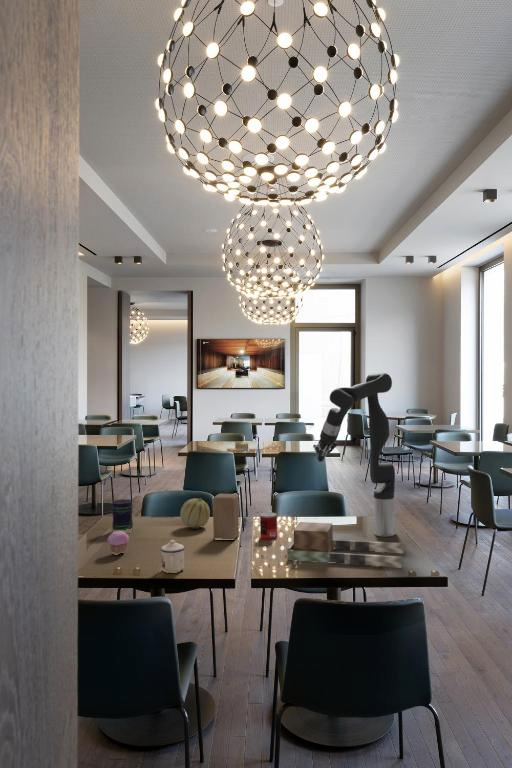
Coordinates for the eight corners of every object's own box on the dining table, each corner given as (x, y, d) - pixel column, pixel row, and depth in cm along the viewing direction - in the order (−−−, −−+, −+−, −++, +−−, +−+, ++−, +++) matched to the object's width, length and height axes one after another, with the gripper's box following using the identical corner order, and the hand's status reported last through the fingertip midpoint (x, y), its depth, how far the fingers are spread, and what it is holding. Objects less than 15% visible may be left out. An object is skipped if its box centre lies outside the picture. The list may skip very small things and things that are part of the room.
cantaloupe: (180, 525, 306) (180, 495, 305) (209, 523, 307) (209, 494, 307) (180, 532, 291) (179, 501, 291) (210, 531, 293) (210, 500, 292)
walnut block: (332, 551, 255) (332, 523, 255) (328, 561, 242) (327, 531, 241) (300, 549, 259) (299, 521, 259) (293, 559, 245) (293, 530, 245)
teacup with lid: (162, 567, 238) (161, 537, 238) (185, 566, 239) (184, 537, 238) (159, 577, 226) (158, 546, 226) (183, 576, 227) (183, 545, 226)
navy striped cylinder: (110, 530, 296) (110, 500, 296) (130, 528, 301) (129, 498, 300) (114, 535, 287) (114, 504, 287) (135, 533, 292) (134, 502, 291)
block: (234, 541, 273) (233, 497, 272) (213, 541, 275) (212, 497, 274) (239, 536, 282) (238, 493, 282) (218, 535, 284) (217, 493, 284)
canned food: (279, 536, 281) (278, 512, 281) (274, 540, 273) (273, 516, 273) (263, 535, 283) (263, 511, 283) (258, 539, 276) (257, 515, 276)
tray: (403, 552, 251) (403, 540, 251) (402, 567, 231) (401, 554, 231) (297, 546, 263) (297, 535, 263) (287, 560, 243) (287, 548, 243)
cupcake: (122, 550, 262) (121, 527, 262) (133, 554, 256) (132, 530, 256) (104, 554, 256) (103, 531, 256) (115, 558, 250) (114, 534, 250)
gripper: (337, 423, 274) (326, 453, 282) (314, 427, 266) (304, 457, 275) (347, 433, 268) (335, 463, 277) (324, 437, 261) (313, 468, 270)
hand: (319, 460), depth 276 cm, fingers closed
